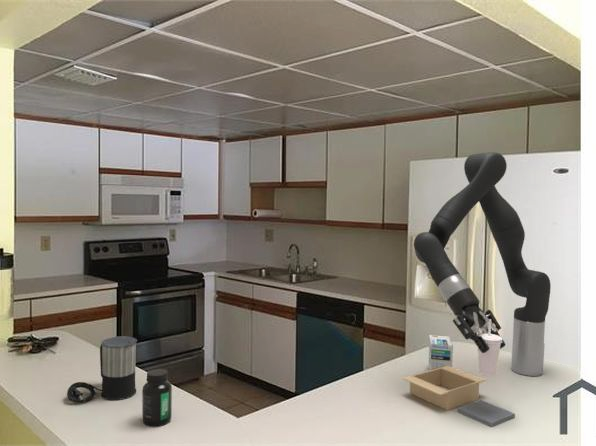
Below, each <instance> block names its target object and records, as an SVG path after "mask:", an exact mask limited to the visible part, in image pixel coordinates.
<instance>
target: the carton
mask: <svg viewBox="0 0 596 446" xmlns="http://www.w3.org/2000/svg"><path fill="white" fill-rule="evenodd" d="M402 380H404V381H406V382H408V383H410V384H409V394H412V395H413V396H415V397H418V398H420V399H422V400H424V401H426V402H429V403H430V404H432V405H435V406H438V407H439V408H441V409H443V410H446V411H449V410H452V409H455V408H459V407H462V406H465V405H467V404H470V403H473V402H476V401H479V397H480V394H479V393H480V384H481V383H484V382H487V379H485V378H483V377H482V378H481V377H480V376H477V375H474V374H472V373H469V372H466V371H463V370H461V369H457V368H455V367H453V366H452V367H450V366H445V367H441V368H438V369H434V370H430V371H429V370H426V371H423V372H419V373H416V374H412V375H408V376H405V377H402ZM441 386H443V387H445V388H443V387H441Z"/></svg>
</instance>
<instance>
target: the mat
mask: <svg viewBox="0 0 596 446" xmlns="http://www.w3.org/2000/svg"><path fill="white" fill-rule="evenodd" d="M456 410H457V412H458V413H459V414H461V415H464V416H467V417H468V418H470V419H472V420H475V421H477V422H479V423H482V424H483V425H486V426H488V427H490V428H492V427H495V426H498V425H500V424H502V423H505V422H507V421H511V420H512V419H514V418H516V413H514V412H512V411H509V410H507V409H505V408H501V407H500V406H497V405H494V404H493V403H490V402H487V401H485V400H483V399H480V400H479V399H478V400H476V401H473V402H470V403H467V404H464V405H461V406H459V407H457V409H456Z"/></svg>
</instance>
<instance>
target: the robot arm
mask: <svg viewBox="0 0 596 446" xmlns="http://www.w3.org/2000/svg"><path fill="white" fill-rule="evenodd" d="M463 166H464V168H463V171H464V174H465V177H466V180H467V181H468V184H467V185H466V186H465V187H463V189H461V190H460V191H458V192H457V193H456V194H455V195H453V196H452V197H451V198H450V199H448V201H446V202H445V204H443V205H442V206H441V208H440V209H439V211H438V212H437V214H436V215H435V216H434V218H433V219H432V221H431V222H430V227H429V230H428V231H423V232H421V233H418V234H417V235H416V236H415V238H414V241H413V248H414V252H415V256H416V258H417V259H418V261H420V262H421V263H423V264H424V265H425V266H426V267H427V270H428V272H429V275H430V277H431V279H432V280H433V282H434V283H435V285H436V287H437V288H438V290H439V292H440V294H441V296H442V298H443V299H444V301H445V302H446V304H447V305H448V306H449V309H450V310H451V312H452V313H453V314H454V316H456V317H455V318H453V320H452V322H453V323H454V325H455V326H456V327H457V329H458V330H459V332H460V333H461V335H462V336H463V337H464V339H466V340H471V341H472V342H474V344H475V345H476V347H477V349H478V348H479V350H480V351H481V352H482V353H485V352H487V351H488V350H489V347H488V345H487V344H486V342H485V341H484V339H483V338H482V336H480V331H482V332H484V333H488V327H489V319H491V333H490V334H494V335H498V336H500V337H502V336H501V335H500V333H499V332H500V330H501V329H502V327H501V325H500V324H499V322H498V320H497V318H496V317H495V315H494V313H493V312H492V310H490V309H487V310H486V311H483V309H481V308H480V306H479V305H480V302H481V301H480V300H479V298H478V297H477V295H476V293H475V292H474V290H473V289H472V288H471V287H470V285H469V284H468V282H467V280H466V279H465V278H464V277H463V276H462V275H461V274H460V272H459V270H458V269H457V268H456V266H455V265H454V264H453V262H452V260H451V259H450V258H449V256H448V254H447V252H446V250H445V248H446V246H447V244H448V242H449V240H450V238H451V237H452V235H453V234H454V233H455V231H456V230H457V228H458V227H459V226H460V224H461V223H462V222H463V220H464V219H465V218H466V216H468V214H469V213H470V211H471V210H472V209H473V208H474V207H475V206H476V205H477V204H478V203H479V205H480V207H481V210H482V212H483V214H484V216H485V218H486V221H487V224H488V227H489V229H490V232H491V235H492V237H493V239H494V242H495V244H496V246H497V249H498V251H499V254H500V257H501V260H502V262H503V267H504V270H505V274H506V277H507V281H508V284H509V287H510V289H511V291H512V292H513V293H514V294H515V295H516V296H518V297H521V298H525V299H526V300H525V305H524V306H523V307H517V308H515V309H514V311H513V323H512V324H513V325H512V326H513V327H512V328H513V329H512V349H511V362H510V363H511V366H510V369H511V371H512V372H515V373H517V374H520V375H524V376H528V377H533V376H534V377H538V376H542V375H543V372H544V360H545V358H544V357H545V327H546V316H547V315H548V311H549V305H550V297H551V287H552V286H551V285H552V284H551V280H550V277H549V275H548V274H546V273H545V272H543V271H540V270H539V271H538V270H534V269H528V267H527V266H526V263H525V261H524V258H523V255H522V254H523V252H522V251H523V246H524V242H525V238H526V237H525V235H526V233H525V229H524V226H523V223H522V221H521V218H520V215H519V214H518V212H517V211H516V209H515V208H513V206H512V205H511V204H510V203H509V202H508V201H507V200H506V199H505V198H504V197H503V196H502V195H501V194H500V192H499V191H498V189H497V187H496V185H497V184H498V183H499V182H500V181H501V180H502V179H503V178H504V175H505V174H506V172H507V166H508V164H507V161H506V159H505V156H503V154H501V153H500V152H493V151H491V152H490V151H489V152H482V153H481V152H479V153H474V154H473V153H472V154H470V155H468V156H467V158H466V159H465V161H464V165H463ZM465 329H466V330H465ZM505 346H506V343H505V340H504V339H503V338H502V343H501V345H500V349H503V348H505ZM541 374H542V375H541Z"/></svg>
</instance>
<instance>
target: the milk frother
mask: <svg viewBox="0 0 596 446" xmlns="http://www.w3.org/2000/svg"><path fill="white" fill-rule="evenodd" d="M137 342H138V339H137V338H135V337H132V336H112V337H108V338H105V339H103V340H102V341H101V342H100V343H101V344H100V348H99V358H100V359H99V361H100V362H99V364H100V377H101V379H102V380H101V382H102V383H101V389H100V388H98V387H96V386H95V385H93V384H90V383H88V382H85V381H78V382H74V383H71V385H70V386H69V387H68V388H67V392H66V397H67V398H68V400H69V401H71V402H73V403H77V404H79V403H80V404H83V403H86V402H87V403H88V402H89V401H91V400H93V399H94V398H95V397H96V396H95V395H96V391H99V392H100V397H101V398H102V399H105V400H108V401H120V400H125V399H128V398H131V397H133V396H134V395H136V394H137V389H136V362H137V361H136V356H137V354H136V353H137V352H136V351H137V348H136V347H137ZM79 388H84V389H87V390H88V391H89V395H88V396H86V397H83V396H84V392H83V391H82V392H81V390H79Z"/></svg>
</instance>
